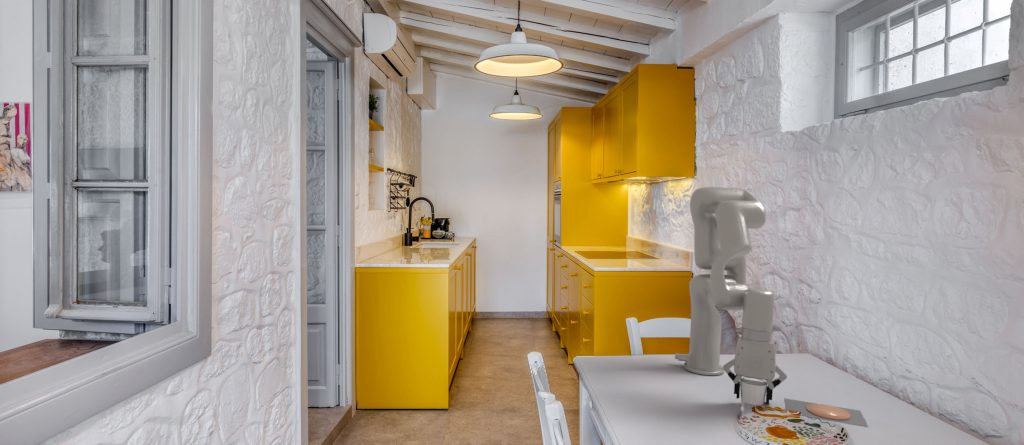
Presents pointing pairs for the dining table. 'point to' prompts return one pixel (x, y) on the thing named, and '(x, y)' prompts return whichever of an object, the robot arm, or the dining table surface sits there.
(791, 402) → the board
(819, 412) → the coaster
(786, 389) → the dining table surface
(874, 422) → the dining table surface
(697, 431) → the dining table surface
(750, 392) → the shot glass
